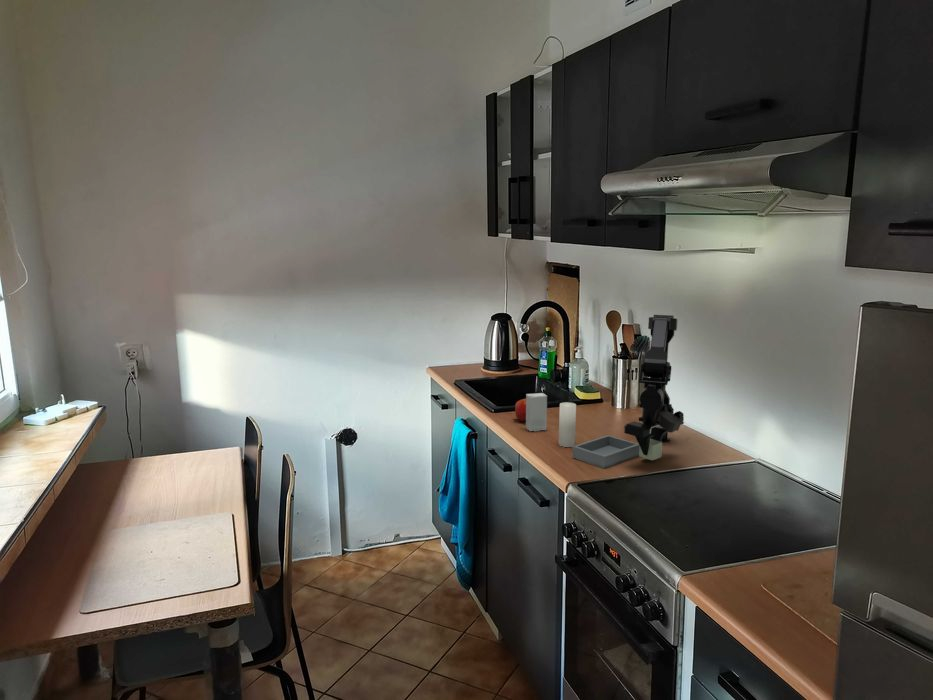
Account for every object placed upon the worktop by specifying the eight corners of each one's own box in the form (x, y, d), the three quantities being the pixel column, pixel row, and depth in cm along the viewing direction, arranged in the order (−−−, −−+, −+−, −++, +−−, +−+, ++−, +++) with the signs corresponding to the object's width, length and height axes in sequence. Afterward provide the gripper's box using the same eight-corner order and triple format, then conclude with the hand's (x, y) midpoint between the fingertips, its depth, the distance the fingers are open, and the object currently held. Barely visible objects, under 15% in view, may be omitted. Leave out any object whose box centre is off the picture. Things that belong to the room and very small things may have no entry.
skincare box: (542, 427, 230) (543, 392, 228) (547, 431, 226) (548, 395, 223) (524, 428, 228) (525, 393, 226) (529, 432, 224) (530, 396, 222)
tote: (607, 445, 211) (608, 435, 210) (639, 455, 202) (640, 444, 202) (572, 457, 200) (572, 446, 200) (604, 468, 192) (604, 456, 191)
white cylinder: (571, 442, 215) (572, 401, 212) (577, 447, 210) (578, 406, 208) (556, 443, 214) (557, 402, 211) (562, 448, 209) (563, 407, 206)
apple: (535, 425, 232) (536, 403, 230) (511, 423, 234) (511, 400, 233) (540, 419, 239) (540, 397, 238) (517, 417, 242) (517, 395, 240)
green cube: (648, 453, 201) (648, 438, 200) (661, 457, 197) (662, 442, 196) (638, 456, 198) (639, 441, 197) (652, 460, 194) (653, 445, 194)
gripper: (658, 412, 182) (655, 468, 185) (696, 400, 194) (693, 453, 197) (624, 404, 191) (621, 457, 194) (662, 393, 203) (659, 443, 206)
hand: (650, 453), depth 197 cm, fingers closed on green cube, 4 cm apart
